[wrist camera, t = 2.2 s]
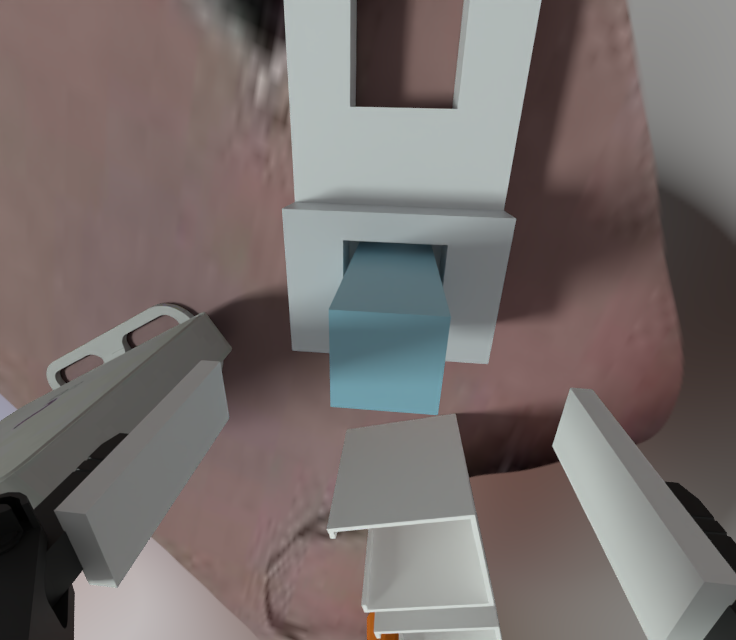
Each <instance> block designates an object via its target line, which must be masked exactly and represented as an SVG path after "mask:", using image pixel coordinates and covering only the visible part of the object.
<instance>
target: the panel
mask: <svg viewBox="0 0 736 640" xmlns="http://www.w3.org/2000/svg"><path fill="white" fill-rule="evenodd" d="M540 6H541V0H464V5H463V14H462V23H461V32H460V41H459V51H458V60H457V69H456V78H455V88H454V97H453V106H452V109H434V108H389V107H356V33H357V0H284V14H285V31H286V49H287V67H288V85H289V102H290V120H291V138H292V156H293V173H294V191H295V202H294V203H292V204H290V205H289V206H287V207H285V208H283V209H282V215H283V229H284V243H285V257H286V271H287V285H288V298H289V312H290V326H291V340H292V351H305V352H320V353H329V307H330V305H331V303H332V301H333V299H334V297H335V294H336V292H337V290H338V288H339V286H340V284H341V281H342V279H343V277H344V275H345V273H346V270H347V268H348V266H349V264H350V262H351V260H352V257H353V255H354V253H355V251H356V249H357V247H358V244H359V242H360V241H361V242H382V243H403V244H424V245H431V246H432V249H433V253H434V257H435V260H436V264H437V268H438V271H439V275H440V278H441V282H442V286H443V289H444V293H445V297H446V300H447V304H448V308H449V311H450V315H451V321H450V329H449V336H448V343H447V351H446V358H445V361H452V362H466V363H481V364H488V361H489V356H490V351H491V346H492V341H493V336H494V330H495V325H496V320H497V315H498V310H499V305H500V300H501V295H502V289H503V284H504V279H505V274H506V269H507V264H508V259H509V254H510V248H511V243H512V238H513V233H514V228H515V223H516V218H515V217H513V216H512V215H510V214H508V213H507V212H505V211H504V207H505V201H506V195H507V190H508V184H509V179H510V173H511V168H512V162H513V156H514V151H515V145H516V140H517V134H518V128H519V123H520V117H521V112H522V106H523V101H524V95H525V89H526V84H527V78H528V73H529V67H530V61H531V56H532V50H533V45H534V39H535V34H536V28H537V22H538V17H539V11H540Z"/></svg>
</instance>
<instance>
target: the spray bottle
mask: <svg viewBox="0 0 736 640" xmlns="http://www.w3.org/2000/svg"><path fill="white" fill-rule="evenodd" d="M374 618H375V612H370V614H369V615H368V617H367V640H399V633H392V634H381V638H378V639H377V638H376V636H375V634H374Z"/></svg>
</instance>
